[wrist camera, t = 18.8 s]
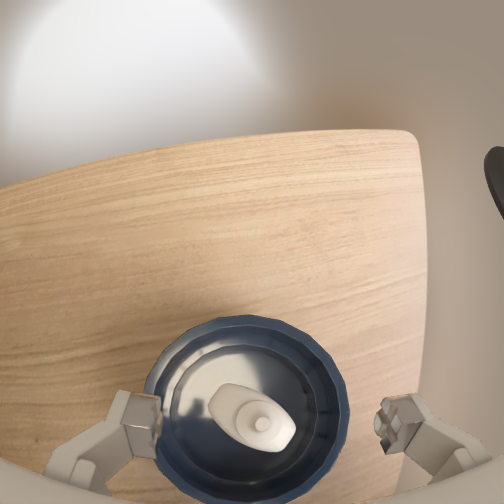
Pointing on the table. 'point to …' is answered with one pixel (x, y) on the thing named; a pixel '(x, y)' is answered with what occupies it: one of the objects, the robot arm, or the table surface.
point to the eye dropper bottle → (251, 418)
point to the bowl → (260, 379)
